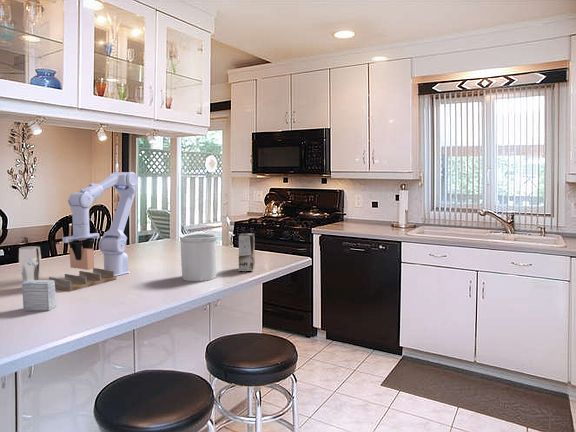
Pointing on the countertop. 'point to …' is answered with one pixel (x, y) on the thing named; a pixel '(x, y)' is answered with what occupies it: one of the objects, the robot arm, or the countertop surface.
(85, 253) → the salmon pink box
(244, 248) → the coffee box
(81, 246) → the robot arm
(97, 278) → the dish rack
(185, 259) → the utensil holder
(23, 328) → the countertop surface
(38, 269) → the beer glass
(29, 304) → the medicine box
